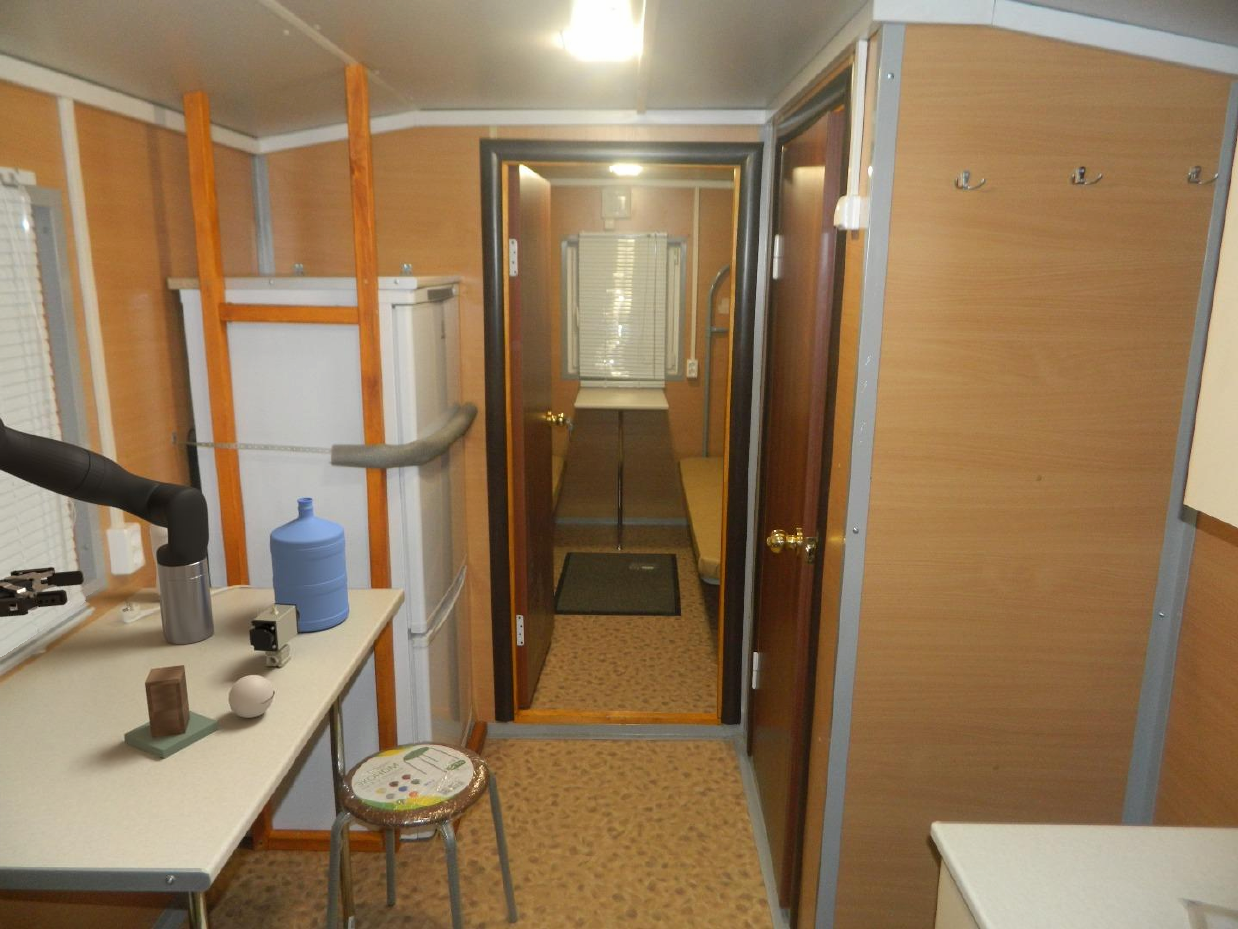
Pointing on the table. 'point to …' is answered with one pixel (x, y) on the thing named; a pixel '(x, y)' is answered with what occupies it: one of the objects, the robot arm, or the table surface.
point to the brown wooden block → (167, 701)
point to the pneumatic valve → (275, 632)
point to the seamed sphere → (251, 696)
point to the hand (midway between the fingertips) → (74, 587)
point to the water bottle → (157, 546)
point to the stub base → (171, 736)
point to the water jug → (311, 568)
